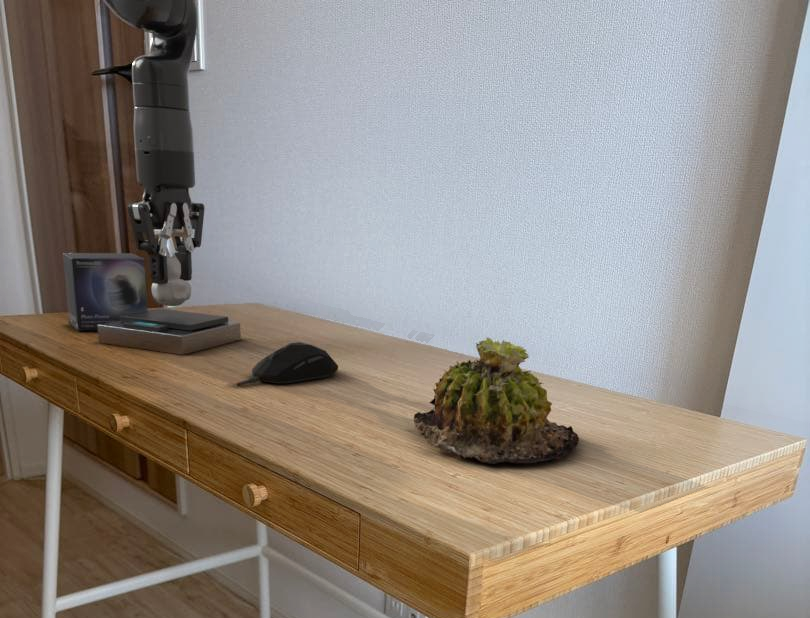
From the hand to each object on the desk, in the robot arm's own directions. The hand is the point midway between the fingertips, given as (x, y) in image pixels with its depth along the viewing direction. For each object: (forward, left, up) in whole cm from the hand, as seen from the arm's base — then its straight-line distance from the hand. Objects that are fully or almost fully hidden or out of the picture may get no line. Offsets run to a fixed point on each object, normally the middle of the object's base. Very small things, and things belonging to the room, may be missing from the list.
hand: (172, 281), depth 116 cm
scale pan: (0, 0, -6) cm, 6 cm away
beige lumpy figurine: (0, 0, -4) cm, 4 cm away
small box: (-14, +3, -8) cm, 17 cm away
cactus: (+55, -24, -8) cm, 61 cm away
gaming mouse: (+25, -12, -8) cm, 29 cm away
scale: (0, -1, -8) cm, 8 cm away
